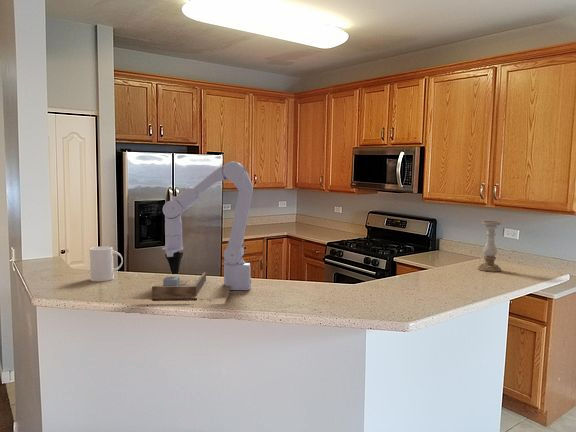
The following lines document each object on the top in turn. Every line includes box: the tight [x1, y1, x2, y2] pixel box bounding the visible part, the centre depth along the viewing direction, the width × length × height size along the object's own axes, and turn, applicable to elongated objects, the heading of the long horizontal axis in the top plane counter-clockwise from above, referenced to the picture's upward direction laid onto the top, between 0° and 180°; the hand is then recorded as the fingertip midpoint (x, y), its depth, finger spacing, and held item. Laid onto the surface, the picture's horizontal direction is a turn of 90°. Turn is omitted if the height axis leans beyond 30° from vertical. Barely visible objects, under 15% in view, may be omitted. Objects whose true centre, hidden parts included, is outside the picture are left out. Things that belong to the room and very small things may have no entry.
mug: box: [89, 245, 124, 282], centre depth 172 cm, size 12×8×12 cm
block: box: [162, 276, 181, 286], centre depth 154 cm, size 4×4×3 cm
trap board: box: [151, 271, 207, 302], centre depth 153 cm, size 14×21×4 cm, turn 2°
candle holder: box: [477, 220, 502, 273], centre depth 188 cm, size 9×9×20 cm
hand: (175, 273), depth 159 cm, fingers closed
